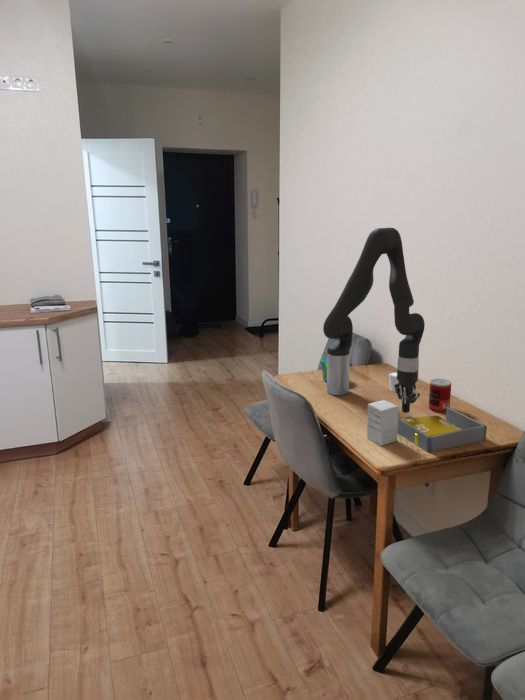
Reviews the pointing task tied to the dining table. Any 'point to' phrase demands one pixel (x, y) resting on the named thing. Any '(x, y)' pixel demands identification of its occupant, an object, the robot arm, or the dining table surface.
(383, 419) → the white rectangular box
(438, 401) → the canned food
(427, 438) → the box
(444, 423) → the element tile
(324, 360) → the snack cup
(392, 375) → the white piece
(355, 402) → the dining table surface
